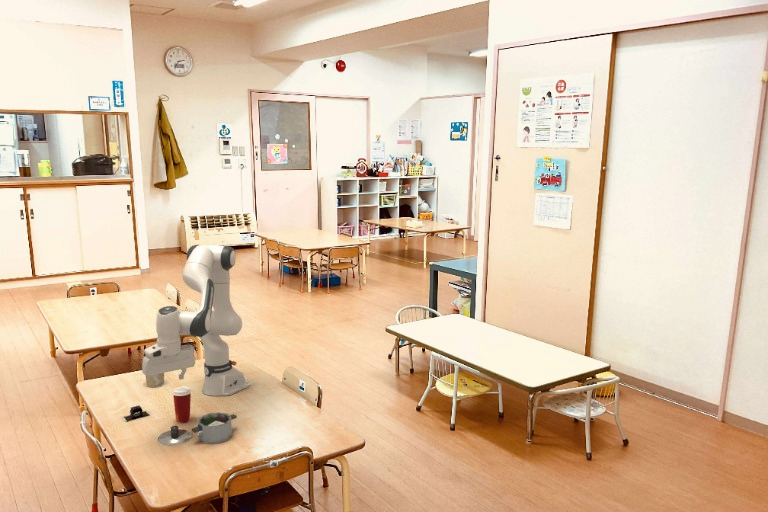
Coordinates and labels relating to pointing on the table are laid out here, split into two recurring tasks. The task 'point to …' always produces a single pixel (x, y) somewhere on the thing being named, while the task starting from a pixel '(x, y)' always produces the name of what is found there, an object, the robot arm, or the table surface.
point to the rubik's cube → (215, 423)
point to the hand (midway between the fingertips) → (169, 381)
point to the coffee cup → (151, 380)
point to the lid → (174, 436)
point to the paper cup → (182, 403)
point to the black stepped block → (137, 415)
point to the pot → (214, 428)
